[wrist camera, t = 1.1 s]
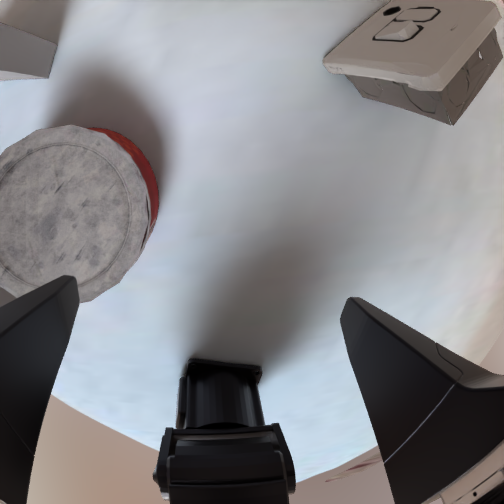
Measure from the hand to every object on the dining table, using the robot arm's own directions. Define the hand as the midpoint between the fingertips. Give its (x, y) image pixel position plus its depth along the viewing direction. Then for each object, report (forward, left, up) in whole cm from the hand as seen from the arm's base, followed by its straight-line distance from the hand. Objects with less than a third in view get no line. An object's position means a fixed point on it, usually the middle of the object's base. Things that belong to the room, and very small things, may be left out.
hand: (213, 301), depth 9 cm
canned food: (+8, +1, -11) cm, 14 cm away
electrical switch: (-9, -14, -11) cm, 20 cm away
